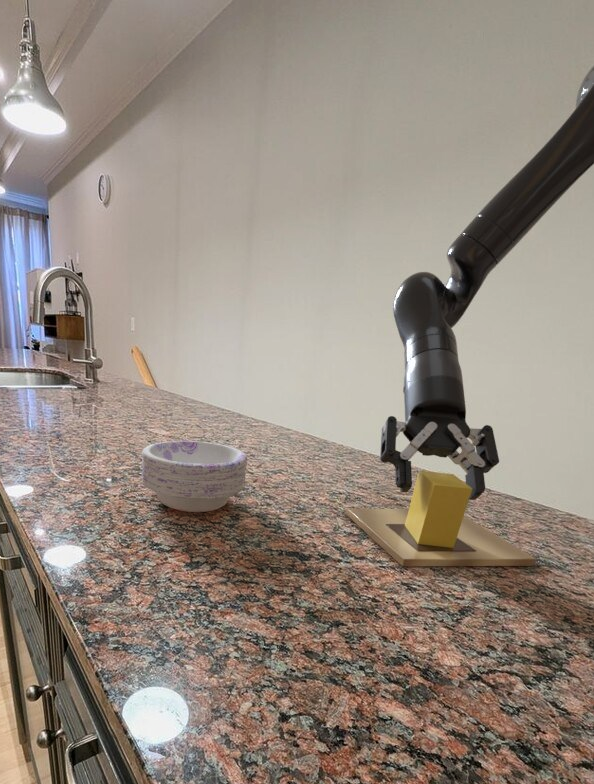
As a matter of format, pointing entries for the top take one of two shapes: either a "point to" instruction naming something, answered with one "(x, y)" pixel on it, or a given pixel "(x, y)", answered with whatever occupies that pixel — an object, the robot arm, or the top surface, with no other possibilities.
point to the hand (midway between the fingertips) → (440, 493)
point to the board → (468, 550)
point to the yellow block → (437, 508)
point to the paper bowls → (193, 474)
